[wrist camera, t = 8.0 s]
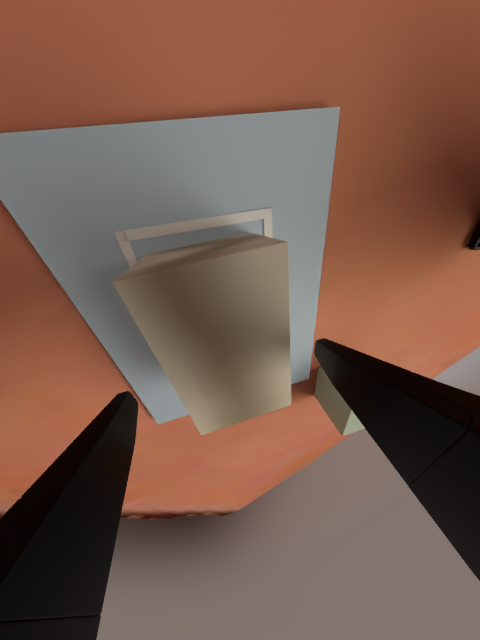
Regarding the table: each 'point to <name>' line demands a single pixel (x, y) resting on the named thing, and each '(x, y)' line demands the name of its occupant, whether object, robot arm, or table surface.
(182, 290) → the birch brick
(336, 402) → the sage cube
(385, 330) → the table surface
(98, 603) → the robot arm
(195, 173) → the board
